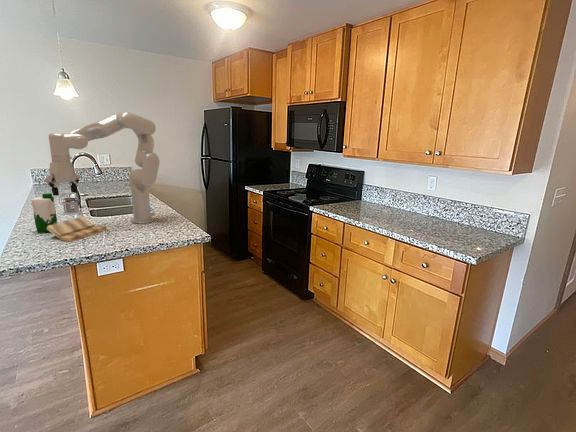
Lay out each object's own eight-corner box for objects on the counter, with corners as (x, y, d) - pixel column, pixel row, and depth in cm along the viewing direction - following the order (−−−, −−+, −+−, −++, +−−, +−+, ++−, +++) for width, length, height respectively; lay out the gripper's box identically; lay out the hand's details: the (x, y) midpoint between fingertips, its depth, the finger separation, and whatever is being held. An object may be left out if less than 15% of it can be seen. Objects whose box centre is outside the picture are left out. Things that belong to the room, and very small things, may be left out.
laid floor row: (97, 229, 176) (96, 225, 175) (106, 230, 174) (105, 226, 174) (60, 240, 155) (59, 236, 155) (69, 242, 154) (69, 238, 153)
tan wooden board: (81, 219, 176) (82, 216, 175) (93, 228, 175) (94, 225, 174) (46, 229, 157) (47, 225, 156) (59, 239, 156) (60, 235, 155)
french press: (74, 215, 203) (69, 176, 197) (56, 214, 203) (50, 175, 197) (84, 211, 213) (79, 174, 207) (67, 211, 213) (62, 173, 207)
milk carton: (55, 232, 167) (49, 195, 162) (34, 234, 164) (28, 195, 159) (60, 228, 175) (55, 192, 170) (40, 229, 172) (34, 192, 167)
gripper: (71, 158, 165) (75, 190, 169) (37, 159, 149) (42, 195, 153) (82, 159, 163) (86, 192, 167) (49, 160, 147) (53, 197, 151)
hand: (65, 193), depth 160 cm, fingers open, 9 cm apart
